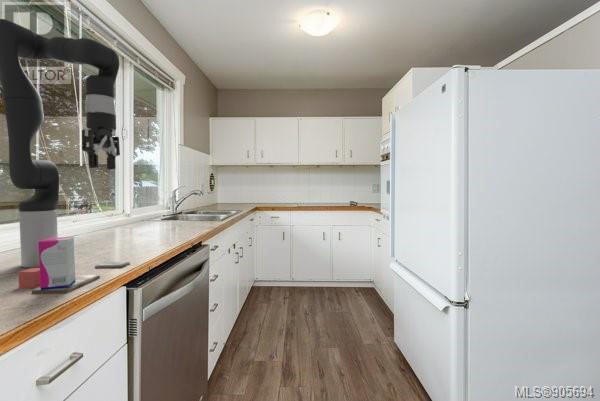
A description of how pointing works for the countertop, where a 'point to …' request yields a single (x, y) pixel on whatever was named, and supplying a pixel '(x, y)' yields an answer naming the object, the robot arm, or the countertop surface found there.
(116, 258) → the countertop surface
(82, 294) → the countertop surface
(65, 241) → the supplement box
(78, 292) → the countertop surface
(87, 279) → the track
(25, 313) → the countertop surface
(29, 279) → the cube
